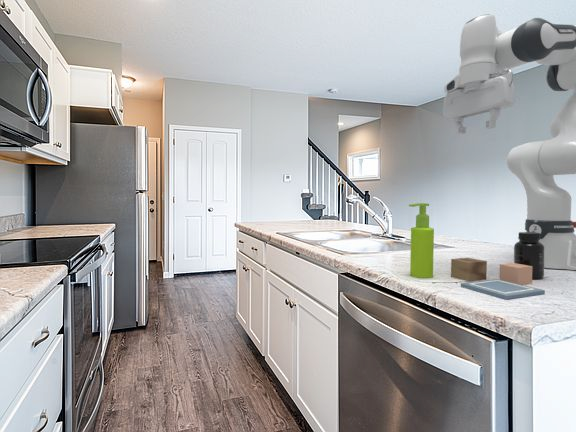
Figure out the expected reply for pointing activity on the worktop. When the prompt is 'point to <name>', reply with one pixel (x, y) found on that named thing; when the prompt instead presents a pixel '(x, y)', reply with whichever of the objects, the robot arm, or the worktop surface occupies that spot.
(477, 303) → the worktop surface
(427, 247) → the soap dispenser
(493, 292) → the board
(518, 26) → the robot arm
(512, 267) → the terracotta block
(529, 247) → the supplement bottle
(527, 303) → the worktop surface
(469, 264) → the walnut block
